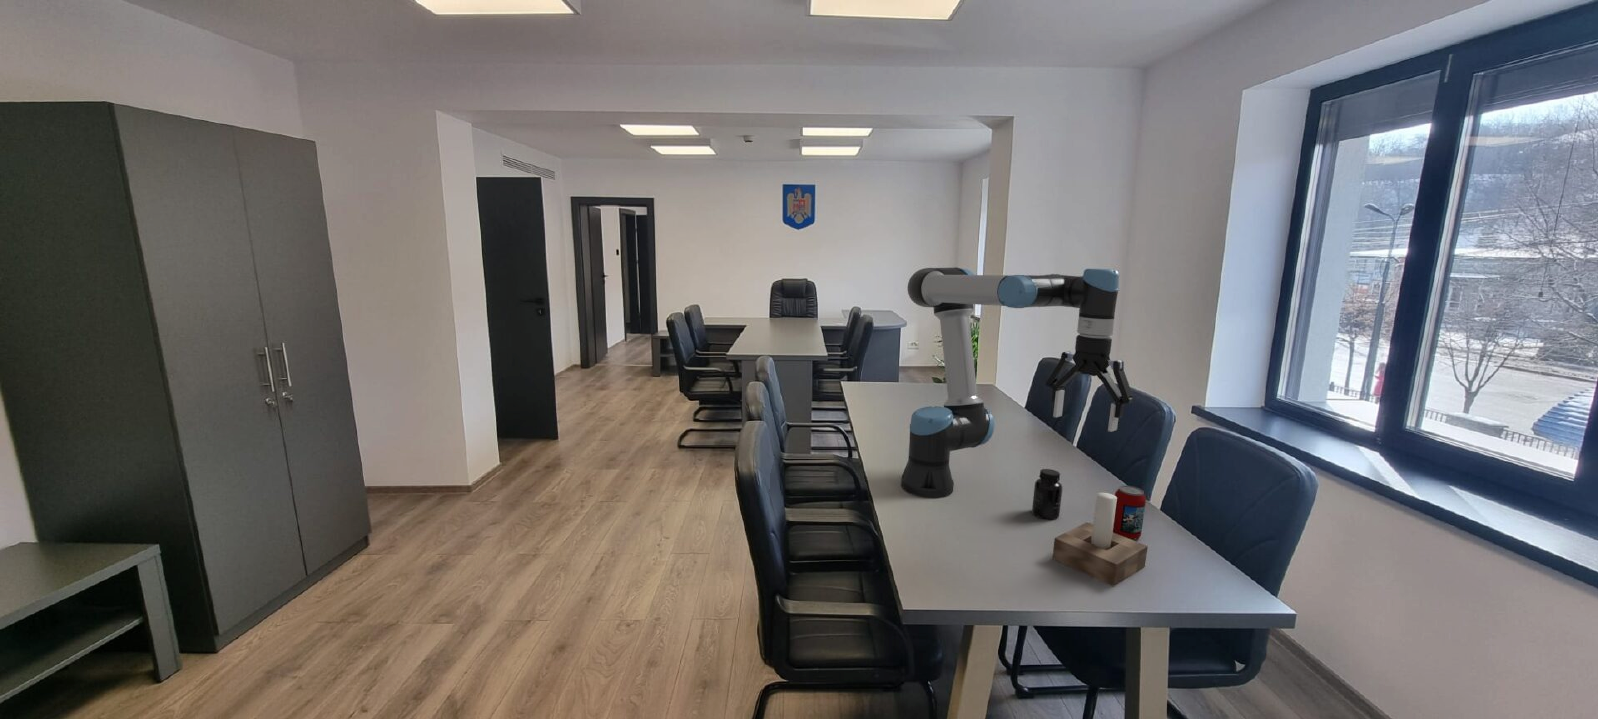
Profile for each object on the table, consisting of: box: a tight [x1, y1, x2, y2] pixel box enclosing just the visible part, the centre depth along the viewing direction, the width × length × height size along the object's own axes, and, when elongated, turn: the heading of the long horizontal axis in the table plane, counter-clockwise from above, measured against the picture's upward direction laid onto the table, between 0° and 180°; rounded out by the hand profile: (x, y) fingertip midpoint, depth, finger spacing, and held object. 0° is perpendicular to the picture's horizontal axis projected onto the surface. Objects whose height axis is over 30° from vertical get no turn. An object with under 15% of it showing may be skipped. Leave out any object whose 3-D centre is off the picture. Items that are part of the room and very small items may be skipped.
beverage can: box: [1113, 485, 1147, 540], centre depth 149 cm, size 7×7×12 cm
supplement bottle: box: [1031, 468, 1063, 520], centre depth 159 cm, size 7×7×12 cm
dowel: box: [1091, 492, 1117, 550], centre depth 135 cm, size 4×4×16 cm
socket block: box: [1052, 522, 1149, 587], centre depth 136 cm, size 14×14×5 cm
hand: (1083, 423), depth 144 cm, fingers open, 13 cm apart
